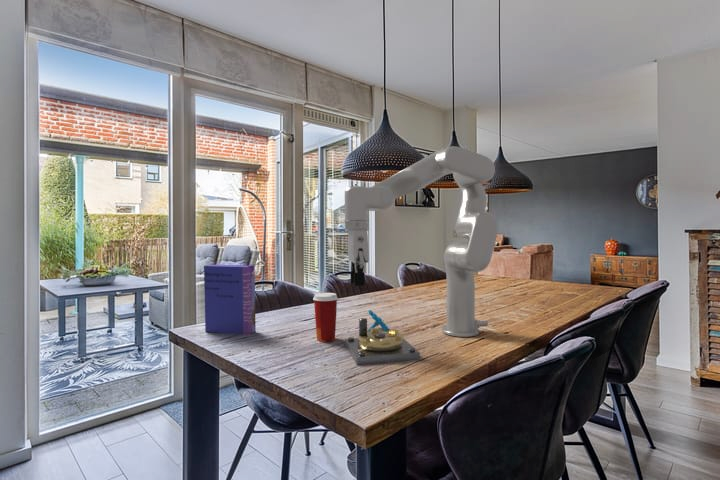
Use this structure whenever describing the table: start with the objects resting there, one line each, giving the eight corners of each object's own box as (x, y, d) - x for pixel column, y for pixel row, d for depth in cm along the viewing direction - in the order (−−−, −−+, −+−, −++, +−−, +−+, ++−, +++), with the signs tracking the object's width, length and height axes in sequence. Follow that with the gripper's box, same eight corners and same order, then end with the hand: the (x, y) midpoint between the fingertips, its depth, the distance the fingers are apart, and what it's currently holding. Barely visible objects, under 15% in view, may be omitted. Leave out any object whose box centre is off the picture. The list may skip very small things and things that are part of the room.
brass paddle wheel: (406, 340, 122) (406, 316, 122) (397, 353, 109) (397, 327, 109) (365, 336, 126) (365, 314, 126) (352, 348, 113) (352, 323, 113)
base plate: (399, 341, 128) (399, 333, 128) (419, 359, 111) (419, 350, 111) (344, 345, 125) (344, 337, 124) (356, 364, 107) (356, 355, 107)
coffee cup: (342, 337, 133) (342, 293, 133) (330, 344, 126) (330, 297, 125) (321, 334, 137) (320, 291, 136) (308, 341, 129) (307, 295, 129)
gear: (390, 330, 135) (369, 309, 137) (378, 343, 135) (357, 321, 137) (391, 327, 146) (372, 307, 148) (380, 338, 146) (361, 318, 148)
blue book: (255, 331, 142) (254, 264, 141) (248, 335, 137) (247, 266, 136) (213, 328, 147) (212, 264, 146) (205, 331, 142) (203, 265, 141)
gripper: (375, 226, 116) (375, 287, 117) (362, 226, 133) (363, 280, 133) (350, 226, 115) (350, 289, 115) (340, 226, 131) (341, 281, 132)
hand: (357, 283), depth 124 cm, fingers open, 4 cm apart
